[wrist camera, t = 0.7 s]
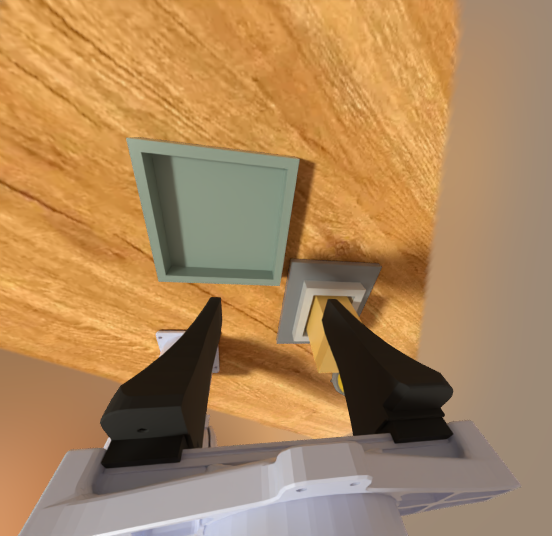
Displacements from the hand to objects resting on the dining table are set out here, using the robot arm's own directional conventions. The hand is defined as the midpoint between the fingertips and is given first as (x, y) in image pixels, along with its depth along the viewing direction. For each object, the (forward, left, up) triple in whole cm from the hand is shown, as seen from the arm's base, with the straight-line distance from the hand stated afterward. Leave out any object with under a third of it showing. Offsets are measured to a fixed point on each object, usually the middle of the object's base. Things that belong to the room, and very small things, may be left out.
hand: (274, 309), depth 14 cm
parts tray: (+2, +5, -10) cm, 11 cm away
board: (-9, -8, -10) cm, 16 cm away
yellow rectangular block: (-9, -8, -9) cm, 15 cm away
